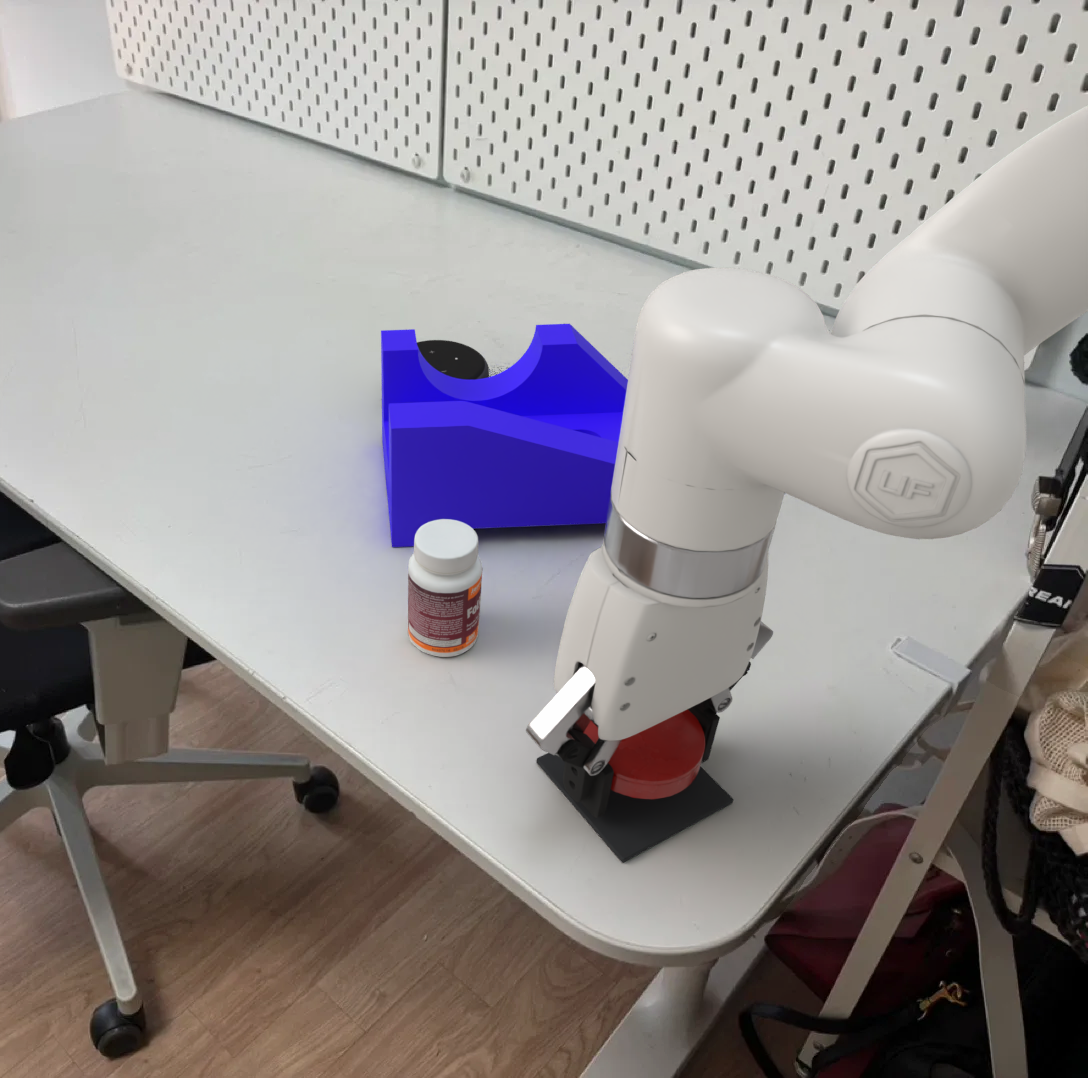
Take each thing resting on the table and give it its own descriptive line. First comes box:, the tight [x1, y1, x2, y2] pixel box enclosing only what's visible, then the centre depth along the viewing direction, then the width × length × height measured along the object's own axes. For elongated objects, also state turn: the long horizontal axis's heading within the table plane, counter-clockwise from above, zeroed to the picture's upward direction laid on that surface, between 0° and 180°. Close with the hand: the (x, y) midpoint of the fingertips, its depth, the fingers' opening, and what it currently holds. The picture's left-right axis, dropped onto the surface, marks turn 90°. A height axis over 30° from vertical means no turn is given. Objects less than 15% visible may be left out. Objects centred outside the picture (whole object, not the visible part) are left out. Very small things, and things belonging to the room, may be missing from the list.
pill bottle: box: [407, 519, 484, 658], centre depth 70 cm, size 5×5×8 cm
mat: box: [535, 752, 734, 864], centre depth 63 cm, size 8×8×1 cm
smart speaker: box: [417, 339, 490, 380], centre depth 94 cm, size 9×9×4 cm
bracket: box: [380, 323, 628, 548], centre depth 82 cm, size 21×14×10 cm, turn 92°
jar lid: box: [584, 709, 705, 799], centre depth 61 cm, size 7×7×2 cm
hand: (635, 769), depth 63 cm, fingers closed on jar lid, 6 cm apart
